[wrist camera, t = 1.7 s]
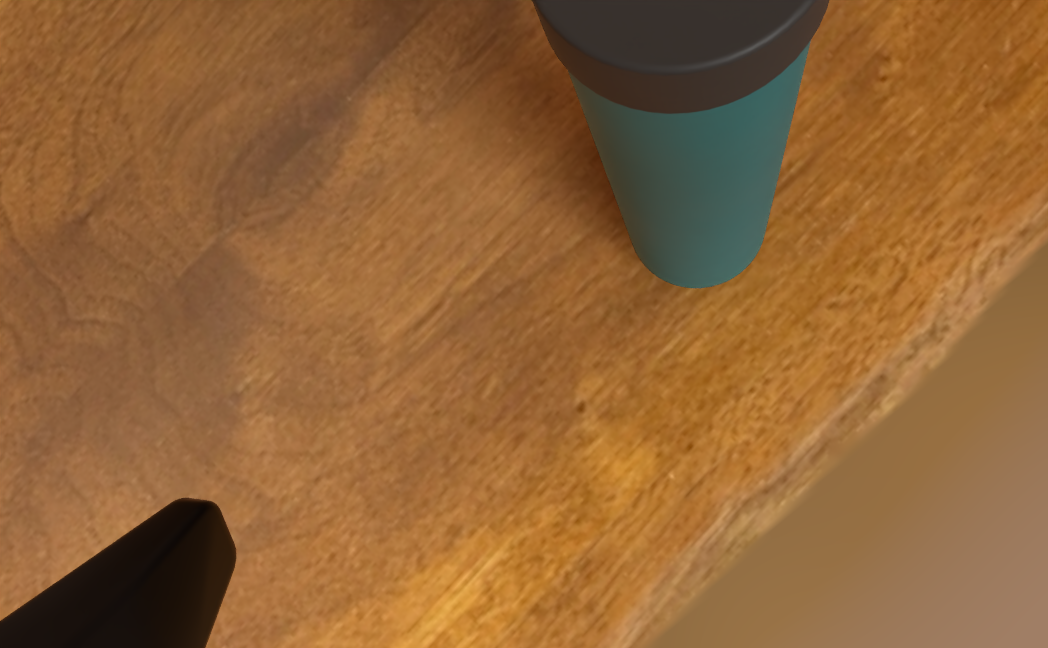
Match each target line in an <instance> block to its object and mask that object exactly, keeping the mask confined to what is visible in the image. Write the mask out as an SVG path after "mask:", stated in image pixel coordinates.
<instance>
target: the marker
mask: <svg viewBox="0 0 1048 648" xmlns="http://www.w3.org/2000/svg"><path fill="white" fill-rule="evenodd" d="M532 1H533V4H534V6H535V9H536V11H537V14H538V16H539V19H540V21H541V24H542V26H543V29H544V31H545V34H546V36H547V39H548V41H549V43H550V45H551V47H552V49H553V50H554V52H555V54H556V55H557V57H558V59H559V60H560V61H561V62H562V63H563V65H564V66H565V67H566V68H567V70H568V72H569V75H570V77H571V80H572V83H573V85H574V88H575V91H576V93H577V96H578V99H579V102H580V104H581V107H582V110H583V112H584V115H585V118H586V120H587V123H588V126H589V128H590V131H591V134H592V136H593V139H594V142H595V145H596V147H597V150H598V153H599V155H600V158H601V161H602V163H603V166H604V169H605V171H606V174H607V177H608V179H609V182H610V185H611V188H612V190H613V193H614V196H615V198H616V201H617V204H618V206H619V209H620V212H621V214H622V217H623V220H624V222H625V225H626V228H627V231H628V233H629V236H630V239H631V241H632V244H633V246H634V249H635V251H636V253H637V255H638V257H639V258H640V260H641V261H642V262H643V264H644V265H645V266H646V267H647V268H648V269H649V270H650V271H651V272H652V273H653V274H655V275H656V276H657V277H659V278H661V279H662V280H664V281H666V282H668V283H671V284H673V285H677V286H681V287H687V288H705V287H711V286H715V285H719V284H721V283H724V282H726V281H728V280H730V279H732V278H734V277H735V276H737V275H738V274H739V273H741V272H742V271H743V270H744V269H745V268H746V267H747V266H748V265H749V264H750V263H751V262H752V260H753V259H754V258H755V256H756V255H757V253H758V251H759V249H760V247H761V245H762V242H763V239H764V235H765V231H766V227H767V223H768V218H769V214H770V210H771V206H772V201H773V197H774V193H775V189H776V185H777V180H778V176H779V172H780V168H781V164H782V159H783V155H784V151H785V147H786V142H787V138H788V134H789V130H790V126H791V121H792V117H793V113H794V109H795V104H796V100H797V96H798V92H799V88H800V83H801V79H802V75H803V71H804V66H805V62H806V58H807V54H808V50H809V45H810V41H811V39H812V37H813V36H814V34H815V32H816V31H817V29H818V27H819V25H820V23H821V21H822V19H823V16H824V14H825V12H826V9H827V6H828V3H829V0H532Z"/></svg>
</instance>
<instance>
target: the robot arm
mask: <svg viewBox="0 0 1048 648" xmlns="http://www.w3.org/2000/svg"><path fill="white" fill-rule="evenodd" d="M235 563H236V548H235V544H234V542H233V540H232V537H231V535H230V532H229V530H228V527H227V525H226V522H225V520H224V518H223V515H222V513H221V510H220V508H219V507H218V506H217V505H216V504H215V503H214V502H212V501H207V500H200V499H193V498H181V499H178V500H175V501H173V502H172V503H170V504H169V505H167V506H166V507H164V508H163V509H161V510H160V511H159V512H157V513H156V514H154V515H153V516H151V517H150V518H148V519H147V520H146V521H144V522H143V523H141V524H140V525H138V526H137V527H135V528H134V529H133V530H131V531H130V532H128V533H127V534H125V535H124V536H122V537H121V538H120V539H118V540H117V541H115V542H114V543H112V544H111V545H109V546H108V547H107V548H105V549H104V550H102V551H101V552H99V553H98V554H96V555H95V556H94V557H92V558H91V559H89V560H88V561H86V562H85V563H83V564H82V565H81V566H79V567H78V568H76V569H75V570H73V571H72V572H70V573H69V574H68V575H66V576H65V577H63V578H62V579H60V580H59V581H57V582H56V583H55V584H53V585H52V586H50V587H49V588H47V589H46V590H44V591H43V592H42V593H40V594H39V595H37V596H36V597H34V598H33V599H31V600H30V601H28V602H27V603H26V604H24V605H23V606H21V607H20V608H18V609H17V610H15V611H14V612H13V613H11V614H10V615H8V616H7V617H5V618H4V619H2V620H1V621H0V648H205V647H206V645H207V642H208V639H209V637H210V634H211V631H212V628H213V626H214V623H215V620H216V617H217V615H218V612H219V609H220V607H221V604H222V601H223V598H224V596H225V593H226V590H227V587H228V585H229V582H230V579H231V577H232V574H233V571H234V568H235Z"/></svg>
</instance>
